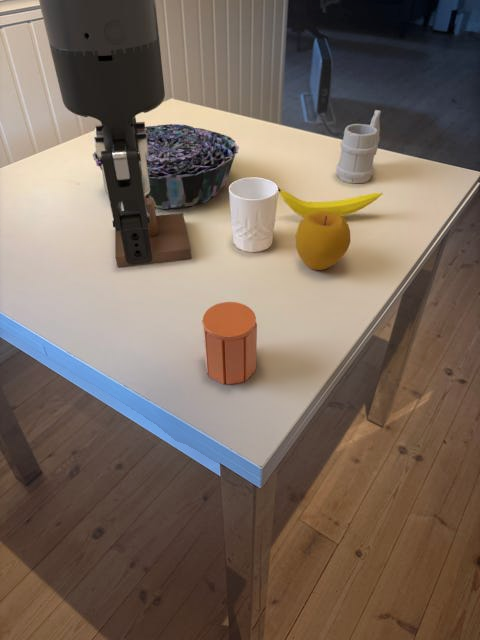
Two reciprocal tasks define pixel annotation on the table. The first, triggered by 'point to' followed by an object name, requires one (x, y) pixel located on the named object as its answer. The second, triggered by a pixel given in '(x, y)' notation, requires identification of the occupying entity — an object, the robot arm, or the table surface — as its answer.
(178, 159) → the decorative bowl
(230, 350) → the orange cup
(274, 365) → the table surface
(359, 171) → the mug
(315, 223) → the apple
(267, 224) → the white cup
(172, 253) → the cup stand
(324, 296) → the table surface
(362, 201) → the banana
